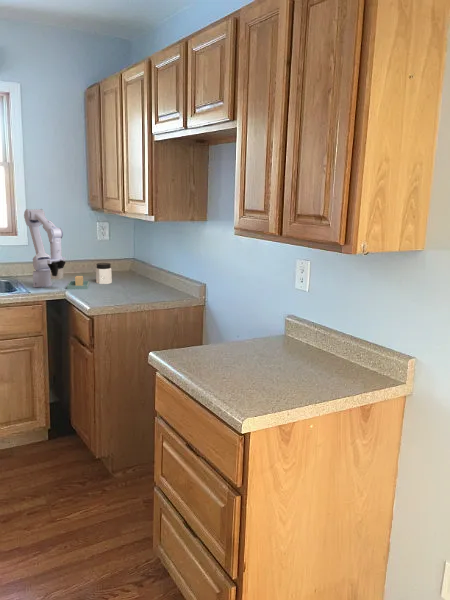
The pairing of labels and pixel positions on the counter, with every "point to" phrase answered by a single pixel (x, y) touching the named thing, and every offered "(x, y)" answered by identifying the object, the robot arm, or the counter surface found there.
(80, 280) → the tan box
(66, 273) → the counter surface
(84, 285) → the tote
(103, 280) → the jar
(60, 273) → the concrete cube
